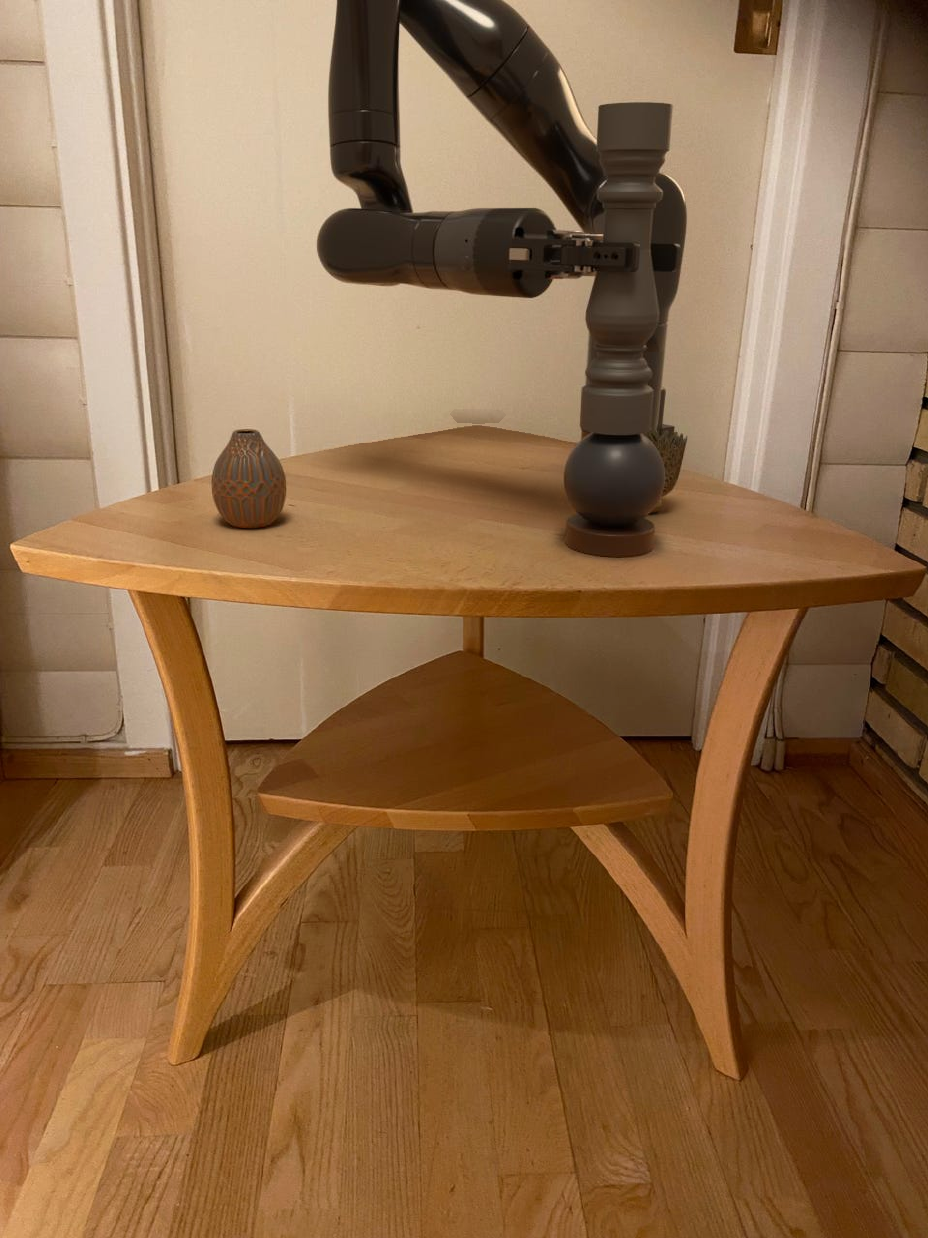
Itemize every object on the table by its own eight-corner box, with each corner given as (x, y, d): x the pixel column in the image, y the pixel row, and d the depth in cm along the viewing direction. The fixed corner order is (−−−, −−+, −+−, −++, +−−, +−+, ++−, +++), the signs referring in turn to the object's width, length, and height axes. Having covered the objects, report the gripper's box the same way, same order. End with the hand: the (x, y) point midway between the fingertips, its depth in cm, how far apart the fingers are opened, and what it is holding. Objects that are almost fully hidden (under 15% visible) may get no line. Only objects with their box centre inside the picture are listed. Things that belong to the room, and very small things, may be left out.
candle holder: (650, 436, 81) (676, 101, 71) (576, 433, 82) (592, 102, 72) (651, 421, 86) (676, 108, 76) (582, 418, 88) (597, 109, 78)
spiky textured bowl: (635, 523, 95) (642, 442, 92) (592, 505, 101) (598, 429, 98) (694, 515, 98) (703, 437, 95) (649, 499, 104) (656, 425, 101)
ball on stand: (605, 525, 94) (613, 415, 90) (678, 547, 88) (691, 430, 84) (539, 540, 89) (545, 424, 85) (612, 565, 82) (623, 440, 78)
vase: (300, 518, 94) (297, 428, 91) (264, 536, 88) (259, 440, 85) (239, 510, 96) (233, 422, 93) (199, 527, 90) (192, 434, 87)
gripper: (445, 204, 81) (616, 203, 71) (543, 211, 91) (704, 210, 82) (443, 297, 84) (608, 309, 74) (539, 294, 94) (695, 303, 84)
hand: (658, 257), depth 78 cm, fingers open, 6 cm apart
